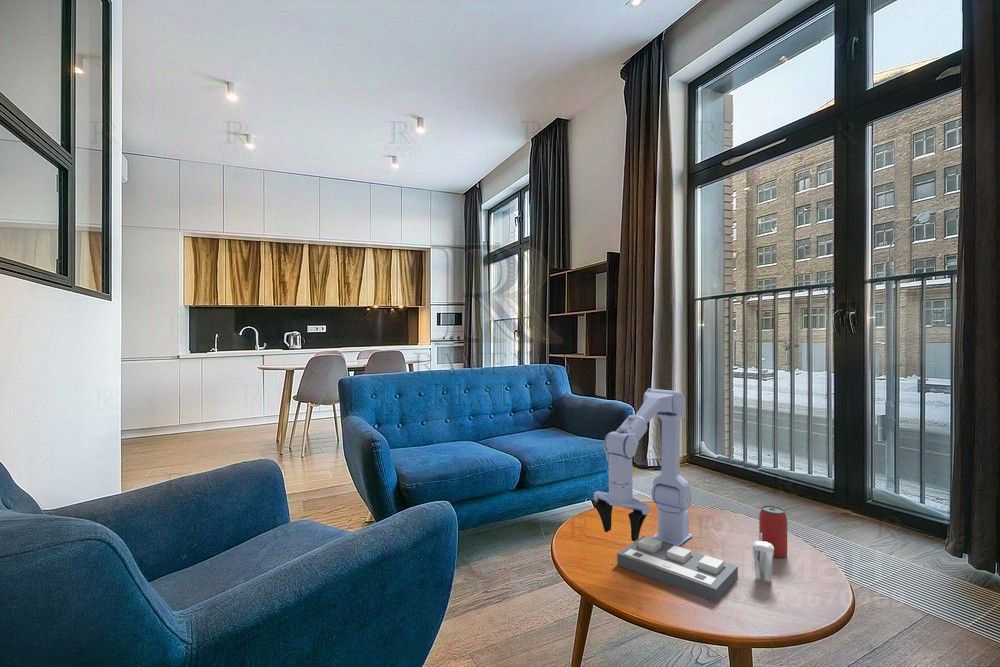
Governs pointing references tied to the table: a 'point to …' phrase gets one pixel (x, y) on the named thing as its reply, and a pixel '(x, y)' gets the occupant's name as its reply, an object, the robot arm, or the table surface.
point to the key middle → (679, 554)
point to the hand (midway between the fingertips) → (621, 535)
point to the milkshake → (763, 560)
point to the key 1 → (649, 544)
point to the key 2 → (711, 565)
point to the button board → (678, 571)
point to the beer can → (774, 529)
